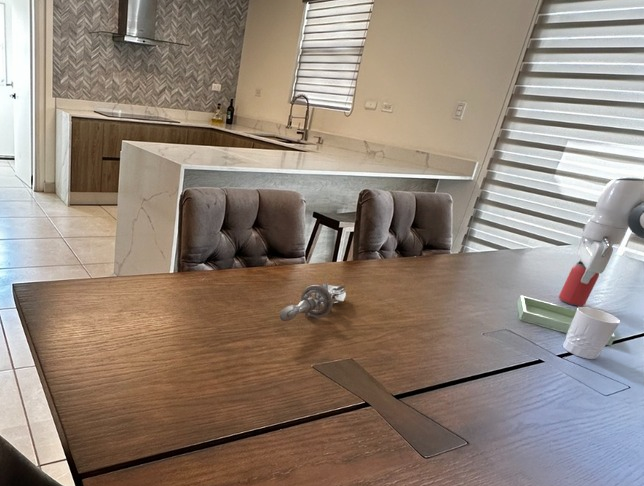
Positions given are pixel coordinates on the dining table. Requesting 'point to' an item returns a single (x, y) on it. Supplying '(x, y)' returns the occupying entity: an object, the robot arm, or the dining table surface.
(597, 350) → the white cup
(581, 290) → the beer can
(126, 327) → the dining table surface
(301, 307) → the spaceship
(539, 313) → the serving tray
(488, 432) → the dining table surface
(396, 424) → the dining table surface
